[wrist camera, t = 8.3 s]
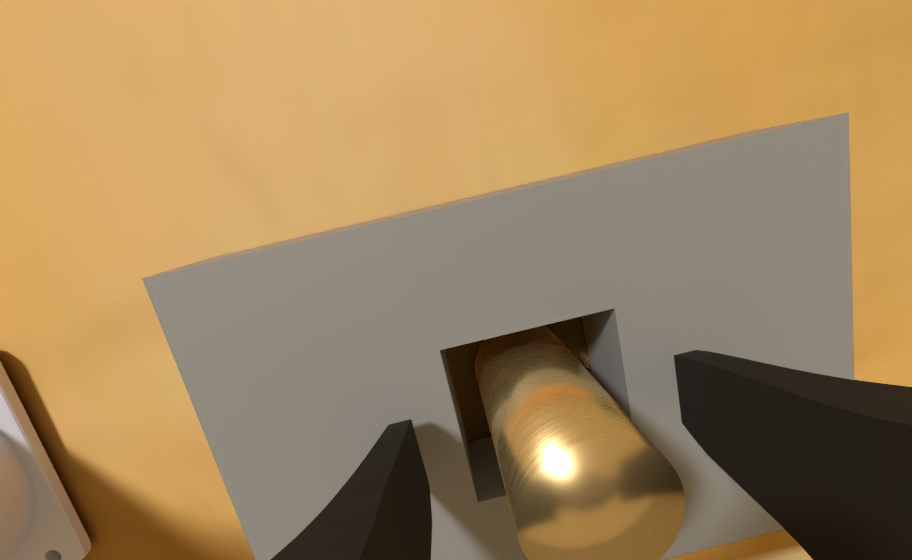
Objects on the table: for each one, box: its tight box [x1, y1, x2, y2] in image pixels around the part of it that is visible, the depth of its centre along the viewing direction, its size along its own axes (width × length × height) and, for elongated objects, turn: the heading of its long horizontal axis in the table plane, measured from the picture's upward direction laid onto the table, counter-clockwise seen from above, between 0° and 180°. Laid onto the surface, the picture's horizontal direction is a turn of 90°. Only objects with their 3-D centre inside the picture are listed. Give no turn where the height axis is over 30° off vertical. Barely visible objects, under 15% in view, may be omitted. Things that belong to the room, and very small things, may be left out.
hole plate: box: [143, 113, 854, 560], centre depth 13 cm, size 18×12×3 cm, turn 103°
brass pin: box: [475, 325, 685, 560], centre depth 11 cm, size 3×3×7 cm
